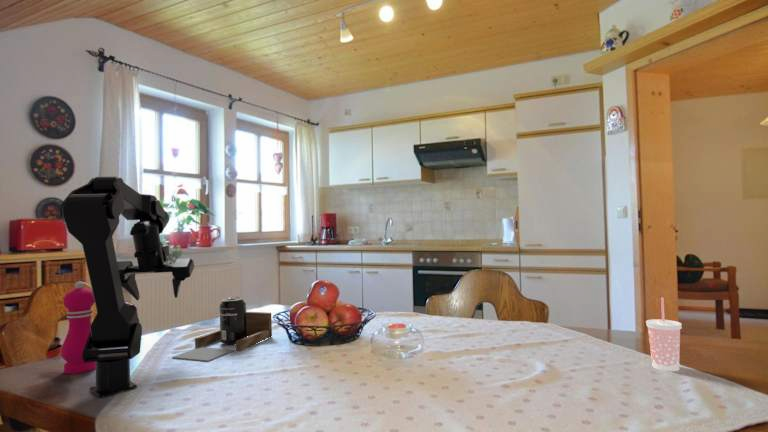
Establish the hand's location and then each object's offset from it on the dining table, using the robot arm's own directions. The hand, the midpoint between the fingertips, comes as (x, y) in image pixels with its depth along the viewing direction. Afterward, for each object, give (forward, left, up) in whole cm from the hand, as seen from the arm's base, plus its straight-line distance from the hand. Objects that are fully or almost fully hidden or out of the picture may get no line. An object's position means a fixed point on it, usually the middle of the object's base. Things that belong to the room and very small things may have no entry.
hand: (157, 298), depth 114 cm
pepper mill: (-1, +17, -14) cm, 22 cm away
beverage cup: (-104, -56, -14) cm, 119 cm away
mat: (-14, -5, -14) cm, 20 cm away
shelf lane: (-10, -16, -14) cm, 23 cm away
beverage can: (-10, -16, -14) cm, 23 cm away
